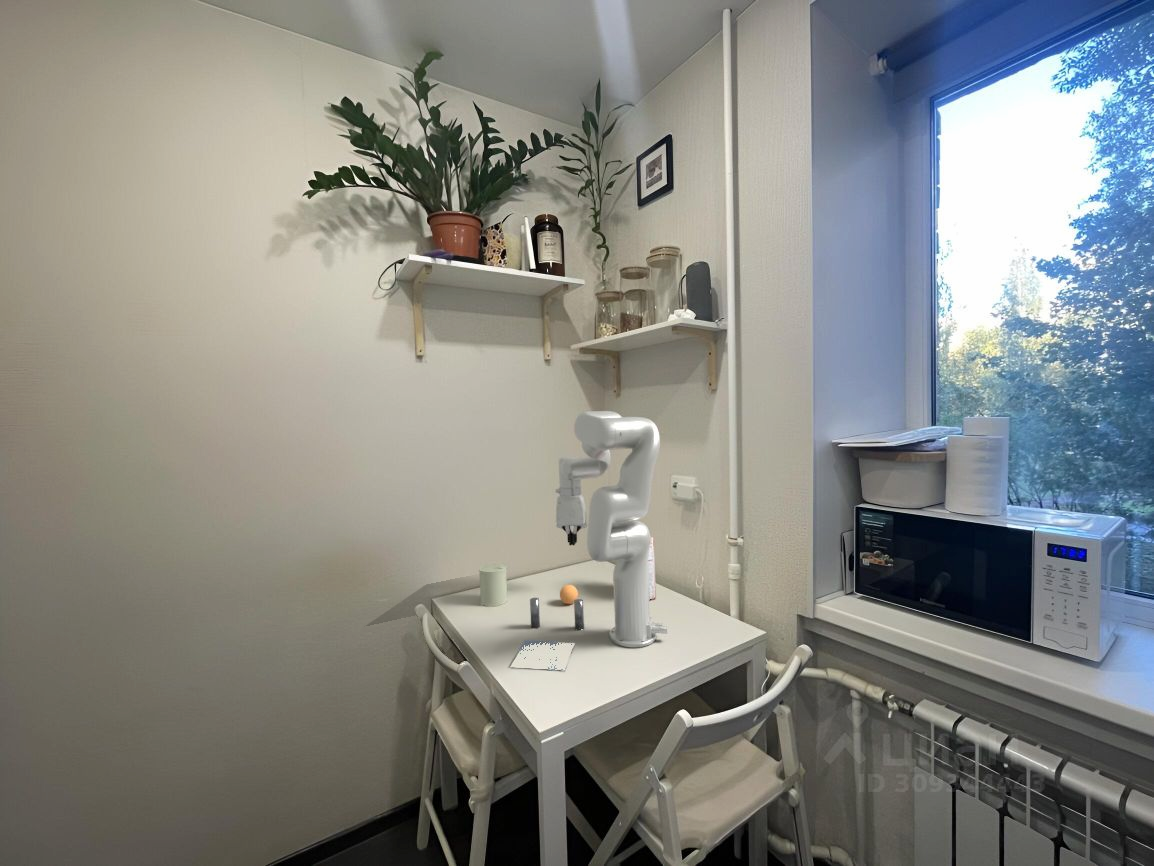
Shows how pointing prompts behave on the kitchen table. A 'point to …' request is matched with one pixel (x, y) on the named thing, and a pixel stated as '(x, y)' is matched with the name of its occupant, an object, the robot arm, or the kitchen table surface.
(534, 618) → the outer post
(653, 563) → the cracker box
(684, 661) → the kitchen table surface
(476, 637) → the kitchen table surface
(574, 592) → the ball
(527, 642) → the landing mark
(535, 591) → the kitchen table surface
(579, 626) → the inner post
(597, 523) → the robot arm
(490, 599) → the can
